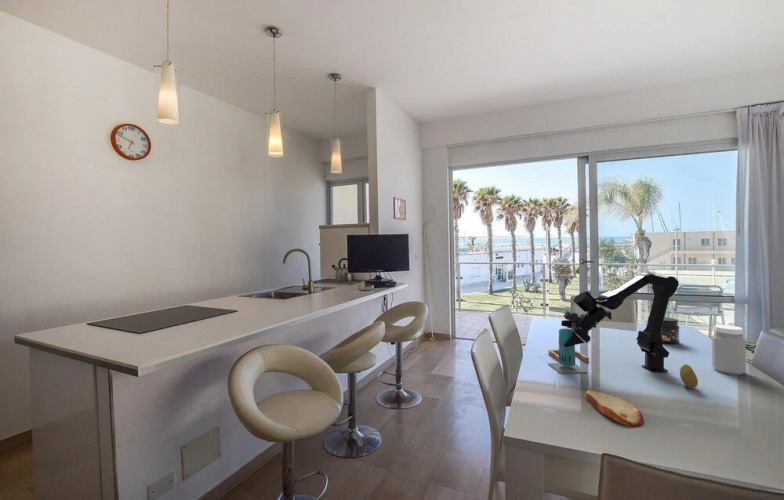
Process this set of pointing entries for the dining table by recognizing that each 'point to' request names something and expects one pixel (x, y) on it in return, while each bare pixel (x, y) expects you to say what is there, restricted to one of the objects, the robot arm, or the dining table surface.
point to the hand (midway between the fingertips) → (562, 343)
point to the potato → (688, 376)
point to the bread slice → (615, 408)
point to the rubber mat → (566, 368)
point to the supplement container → (670, 331)
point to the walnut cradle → (556, 355)
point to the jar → (729, 350)
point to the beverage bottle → (566, 352)
